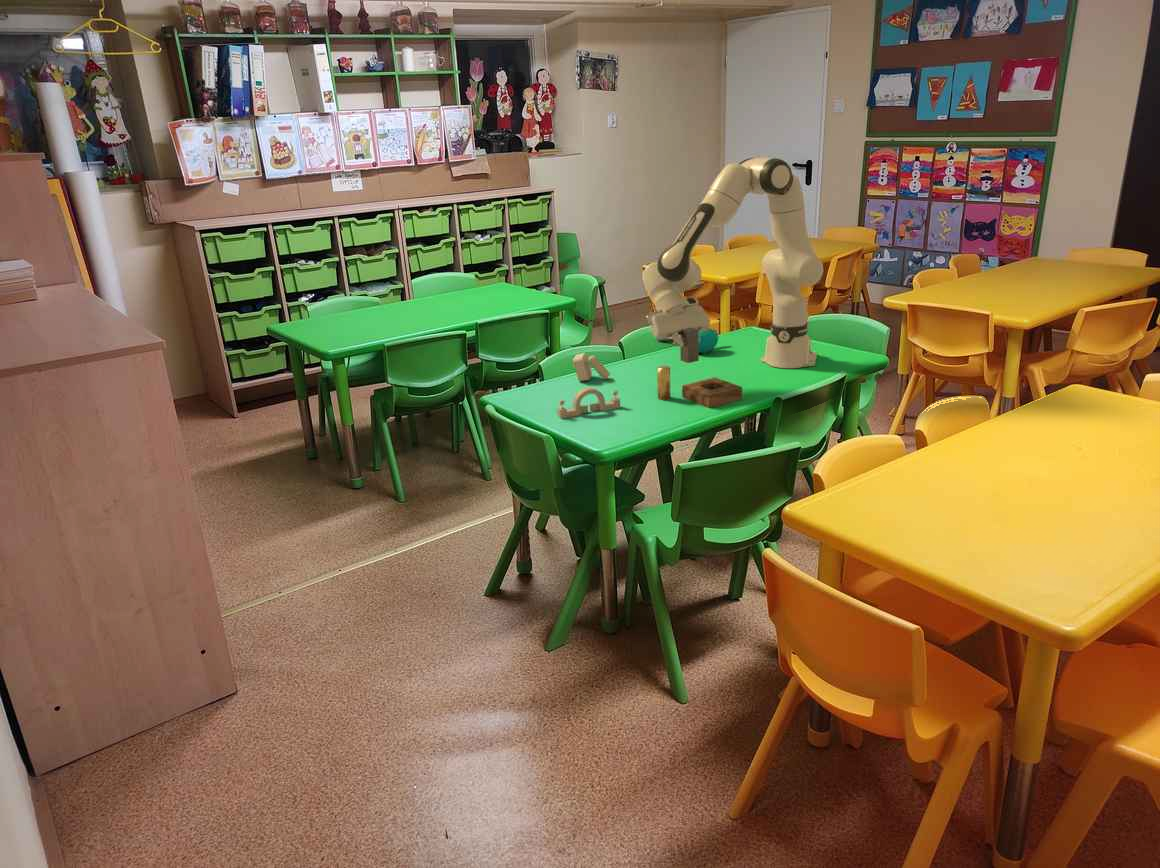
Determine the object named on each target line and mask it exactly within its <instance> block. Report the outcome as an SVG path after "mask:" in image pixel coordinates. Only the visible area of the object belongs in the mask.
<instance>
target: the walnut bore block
mask: <svg viewBox="0 0 1160 868" xmlns="http://www.w3.org/2000/svg"><path fill="white" fill-rule="evenodd" d="M681 386H682V393H681V394H682V396H681V397H682V398H684V399H685V400H688V401H689V402H693V403H696V404H698V405H701V406H703V407H704V408H708V409H710V408H714V407H717V406H721V405H725V404H729V403H732V402H736V401H740V400H742V399H743V386H740V385H738V384H736V383H732V382H729V381H727V380H723V379H720V378H718V377H715V376H714V377H710V378H707V379H702V380H698V381H695V382H690V383H685V384H683V385H681Z"/></svg>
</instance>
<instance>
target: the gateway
mask: <svg viewBox="0 0 1160 868" xmlns="http://www.w3.org/2000/svg"><path fill="white" fill-rule="evenodd" d="M611 393H612V395H613V396H614V397H611V398H610V401H606V400H605V396H604V395H603V393H602V392H601V391H599V390H598V389H597V388H594V387H589V386H587V387H584V388H582V389H580V390H579V391H577V393H576V394H575V396H574V397H573V402H572V406H573V408H566V407H564V404H565V402H566V401H565V400H564V399H559V400H558V403H559V405H560V407H557V417H558V418H559V419H566V418H571V417H576V416H581V415H582V414H585V413H589V412H595V411H600V412H605V411H610V410H616V409H621V398H619V397H616V396H618V394H619V391H618V390H616V389H615V390H612V391H611ZM588 395H596V398H597V402H595V403H589V405H588V404H585V405H581V401H582V400H583V399H584V398H585V397H586V396H588Z"/></svg>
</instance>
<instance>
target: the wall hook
mask: <svg viewBox="0 0 1160 868" xmlns="http://www.w3.org/2000/svg"><path fill="white" fill-rule="evenodd" d="M572 363H573V364H572V365H573V366H574V370H575V374H576V375H577V379H578V382H579V383H581V382H585V381H589V380H590V379H591V377H592V375H593V372H592V368H593V369H594V371H596V372H597V374H598V375H599V376H600V377H601V378H602V380H603V379H604V380H606V379H607V378H608V377H609V376H610V375H611V372H610V371H609V370H608V369H607V368H606V367H605V366H604V364H603V363H602V362H601V361H600V359H598V357H596V356H595V355H590V356H589V357H588V355H587V352H583V353H578V354H575V355H574V358H573V359H572ZM591 367H592V368H591Z"/></svg>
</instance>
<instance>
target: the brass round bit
mask: <svg viewBox="0 0 1160 868" xmlns="http://www.w3.org/2000/svg"><path fill="white" fill-rule="evenodd" d="M656 370H657V371H656V374H657V375H656V377H657V379H656V380H657V399H658V400H660V401H669V400H670V399H671V366H668V365H660V366H657V369H656Z"/></svg>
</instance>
